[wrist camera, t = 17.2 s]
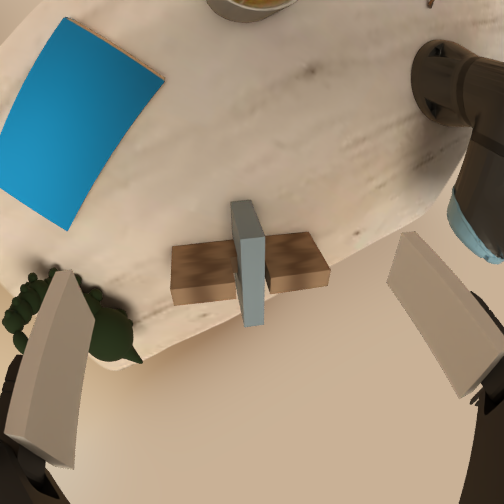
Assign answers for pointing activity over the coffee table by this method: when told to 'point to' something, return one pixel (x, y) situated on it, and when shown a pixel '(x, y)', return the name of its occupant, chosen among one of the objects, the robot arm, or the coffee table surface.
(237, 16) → the coffee mug
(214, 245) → the walnut board
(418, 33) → the coffee table surface
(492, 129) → the robot arm
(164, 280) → the coffee table surface
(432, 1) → the lion figurine
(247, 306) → the slate plate
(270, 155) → the coffee table surface
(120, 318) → the toy figurine
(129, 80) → the book
